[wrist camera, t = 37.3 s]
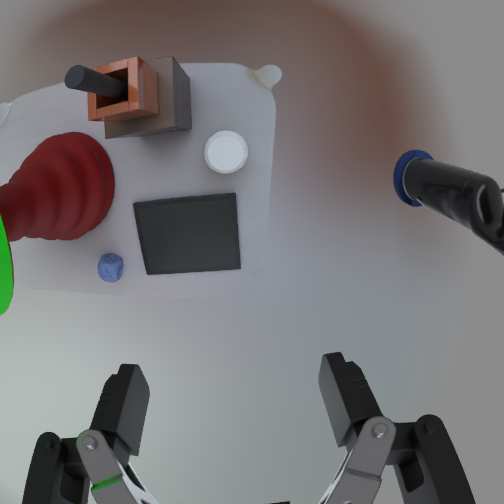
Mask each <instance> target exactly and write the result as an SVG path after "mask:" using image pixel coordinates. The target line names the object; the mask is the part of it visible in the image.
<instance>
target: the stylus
mask: <svg viewBox="0 0 504 504" xmlns="http://www.w3.org/2000/svg"><path fill="white" fill-rule="evenodd" d="M65 85H66V86H67V87H68V88H71V89H76V90H81V91H86V92H91V93H95V94H100V95H104V96H108V97H112V98H116V99H120V100H124V101H129V98H128V84H127V83H124V82H122V81H119V80H117V79H115V78H112V77H110V76H107V75H105V74H102V73H99V72H97V71H94V70H92V69H89V68H86V67H83V66H81V65H76V66H73V67H72V68H71V69H70V70H69V71H68V72H67V74H66V76H65Z"/></svg>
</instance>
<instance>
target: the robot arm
mask: <svg viewBox="0 0 504 504" xmlns="http://www.w3.org/2000/svg"><path fill="white" fill-rule="evenodd" d="M402 186H403V190H404V192H405V194H406V195H407V196H408V197H409V198H410V199H412V200H414V201H416V202H419V203H421V204H422V205H423V206H424V207H426V206H427V207H429V208H431V209H433V210H435V211H437V212H439V213H441V214H443V215H445V216H447V217H448V218H451V219H453V220H454V221H456V222H458V223H460V224H461V225H463V226H465V227H467V228H469V229H470V230H472V232H473V233H474V234H475V235H476V236H478V237H479V238H480V239H482V240H484V241H485V242H486V243H488V244H489V245H491V246H492V247H493V248H495V249H496V250H497V251H498V252H500V253H501V254H502V255H503V256H504V204H503V199H502V194H501V193H503V192H504V189H501V190H500V187H499V186H498V184H497V182H496V181H495V180H494V179H493V178H491V177H489V176H486V175H483V174H480V173H477V172H474V171H470V170H467V169H464V168H460V167H456V166H453V165H450V164H446V163H442V162H438V161H435V160H431V159H427V158H425V157H414V158H412V159H411V160H409V161H408V163H407V164H406V166H405V167H404V170H403V173H402ZM427 207H426V208H427ZM319 387H320V391H321V394H322V397H323V400H324V403H325V406H326V410H327V413H328V416H329V419H330V423H331V426H332V429H333V432H334V436H335V438H336V442H337V445H338V447H342V446H346V448H347V451H348V452H347V454H346V456H345V458H344V460H343V462H342V464H341V466H340V468H339V470H338V472H337V474H336V476H335V477H334V479H333V481H332V483H331V485H330V486H329V488H328V489H327V491H326V493H325V494H324V495H323V497H322V499H321V500H320V502H319V503H318V504H372V503H373V501H374V499H375V497H376V494H377V492H378V490H379V488H380V485H381V482H382V479H381V474H382V471H383V469H384V467H385V465H393V466H394V469H395V473H396V476H397V480H398V483H399V486H400V490H401V493H402V497H403V500H404V504H476V503H475V500H474V497H473V494H472V492H471V489H470V486H469V483H468V481H467V478H466V475H465V473H464V470H463V467H462V465H461V463H460V460H459V458H458V455H457V453H456V451H455V448H454V446H453V444H452V441H451V440H450V437H449V435H448V433H447V430H446V428H445V426H444V424H443V422H442V421H441V419H440V418H439V417H437V416H435V415H430V414H429V415H424V416H422V417H420V418H419V419H418V420H417V422H410V423H395V422H392V421H391V420H390V419H388V418H386V417H384V416H383V414H382V413H381V411H380V408H379V406H378V404H377V402H376V400H375V397H374V396H373V393H372V391H371V390H370V387H369V385H368V383H367V380H365V376H364V374H363V372H362V370H361V368H360V367H359V366H357V365H356V364H355V363H354V362H353V361H351V362H345V360H344V357H343V355H342V353H341V352H335V353H329V354H324V355H323V356H322V361H321V367H320V372H319ZM149 396H150V392H149V386H148V384H147V381H146V379H145V377H144V375H143V373H142V371H141V368H140V367H139V365H137V364H121V366H120V368H119V371H118V373H117V375H116V374H112V375H111V376H110V378H109V379H108V380H107V381H106V383H105V385H104V388H103V391H102V394H101V396H100V401H99V402H98V405H97V408H96V410H95V414H94V417H93V420H92V423H91V426H90V428H89V430H85V431H83V432H82V433H80V435H79V436H78V437H76V438H62V439H60V438H59V437H58V436H57V435H56V434H54V433H52V432H45V433H43V434H42V435H40V437H39V438H38V440H37V443H36V446H35V449H34V453H33V456H32V460H31V464H30V468H29V472H28V476H27V480H26V485H25V490H24V495H23V501H22V504H87V502H88V494H89V486H90V480H91V482H92V484H93V487H92V488H91V492H92V495H93V497H94V499H95V501H96V503H97V504H159V503H158V502H157V501H156V500H155V499H154V498H153V497H152V496H151V494H150V493H149V492H148V491H147V489H146V488H145V486H144V485H143V483H142V482H141V480H140V479H139V477H138V475H137V474H136V472H135V471H134V469H133V467H132V466H131V464H130V463H129V456H130V455H134V456H138V454H139V448H140V442H141V437H142V431H143V426H144V421H145V416H146V411H147V406H148V402H149ZM272 504H290V502H289V501H287V502H280V503H272Z"/></svg>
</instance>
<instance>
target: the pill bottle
mask: <svg viewBox="0 0 504 504" xmlns="http://www.w3.org/2000/svg"><path fill="white" fill-rule="evenodd" d="M248 154H249V149H248V145H247V142H246V140H245V139H244V138H243V137H242V136H241V135H240V134H239V133H237V132H235V131H231V130H222V131H219V132H216V133H214V134H213V135H212V136H210V137H209V139H208V140H207V141H206V143H205V146H204V158H205V161H206V163H207V164H208V166H209V167H210V168H211V169H213V170H214V171H216V172H219V173H224V174H228V173H233V172H236V171H237V170H239V169H240V168H242V167H243V165H244V164H245V163H246V161H247V158H248Z"/></svg>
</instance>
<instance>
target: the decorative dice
mask: <svg viewBox="0 0 504 504" xmlns="http://www.w3.org/2000/svg"><path fill="white" fill-rule="evenodd" d="M122 270H123V261H122V260H121V258H120V257H119V256H117V255H114V254H106V255H104V256H102V257H101V259H100V261H99V264H98V274H99V276H100V277H101V278H102V279H103V280H104V281H107V282H115V281H117V280H119V279H120V277H121V274H122Z"/></svg>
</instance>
